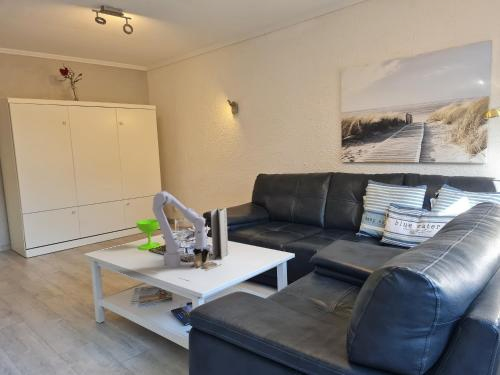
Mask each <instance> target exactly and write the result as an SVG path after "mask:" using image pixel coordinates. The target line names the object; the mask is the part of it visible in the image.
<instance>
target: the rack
mask: <svg viewBox="0 0 500 375" xmlns="http://www.w3.org/2000/svg"><path fill="white" fill-rule="evenodd" d="M211 262H212V261H209V263H211ZM209 263H207V264H209ZM204 265H206V264H204ZM204 265H202V266H204ZM202 266H199V267H195V269H196V270H197V269H200V268H202ZM219 266H222V264H217V265H216V266H214V267H211V268H209V269H206V270H204V271H205V272H207V271H209V270H212V269H215V268H217V267H219ZM193 267H194V264H193V265H191V266H190V268H193Z"/></svg>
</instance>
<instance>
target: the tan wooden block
mask: <svg viewBox="0 0 500 375" xmlns="http://www.w3.org/2000/svg"><path fill="white" fill-rule="evenodd" d="M209 253H210V252H209ZM209 253H208V255H207V258H206V262H204V263H203V261H202V255H201V253H200V254H197V255H195V254H194V255H193V265H194V266H193V267H194V268H196V267H199V266H202V265H204V264H207V263H210V254H209Z"/></svg>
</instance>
